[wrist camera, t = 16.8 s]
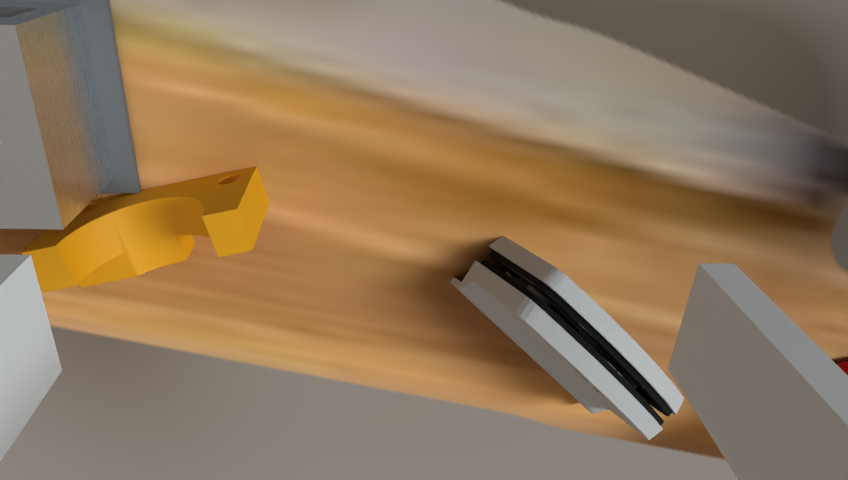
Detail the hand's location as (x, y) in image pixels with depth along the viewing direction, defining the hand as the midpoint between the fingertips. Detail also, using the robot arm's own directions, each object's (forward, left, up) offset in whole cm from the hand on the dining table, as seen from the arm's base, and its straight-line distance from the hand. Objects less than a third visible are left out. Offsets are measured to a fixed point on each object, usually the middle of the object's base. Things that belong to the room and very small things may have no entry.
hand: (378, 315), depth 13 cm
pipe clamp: (+11, -13, -27) cm, 32 cm away
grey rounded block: (+18, +14, -27) cm, 35 cm away
